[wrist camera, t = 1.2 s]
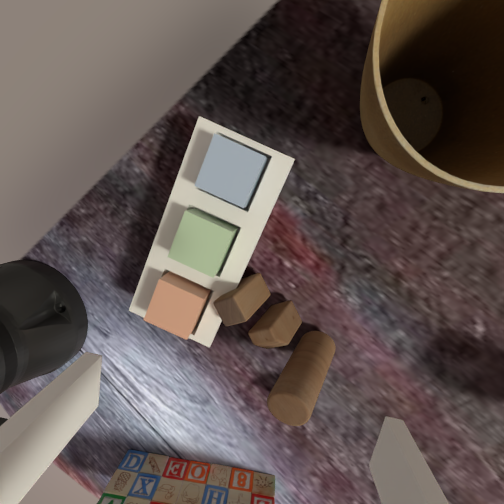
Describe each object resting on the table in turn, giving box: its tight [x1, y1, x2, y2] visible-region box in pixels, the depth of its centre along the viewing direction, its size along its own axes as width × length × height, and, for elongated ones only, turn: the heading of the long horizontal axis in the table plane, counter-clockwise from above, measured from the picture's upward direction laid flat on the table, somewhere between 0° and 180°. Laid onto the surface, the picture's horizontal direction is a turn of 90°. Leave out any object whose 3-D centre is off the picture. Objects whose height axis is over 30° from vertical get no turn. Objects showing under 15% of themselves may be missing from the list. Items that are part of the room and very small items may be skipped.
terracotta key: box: [144, 271, 211, 340], centre depth 32 cm, size 5×5×4 cm
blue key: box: [194, 133, 267, 208], centre depth 28 cm, size 5×5×4 cm
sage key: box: [168, 208, 238, 278], centre depth 30 cm, size 5×5×4 cm
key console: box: [129, 116, 295, 347], centre depth 32 cm, size 10×22×4 cm, turn 156°
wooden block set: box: [213, 273, 335, 426], centre depth 32 cm, size 18×9×10 cm, turn 27°
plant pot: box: [360, 0, 504, 193], centre depth 22 cm, size 15×15×16 cm
